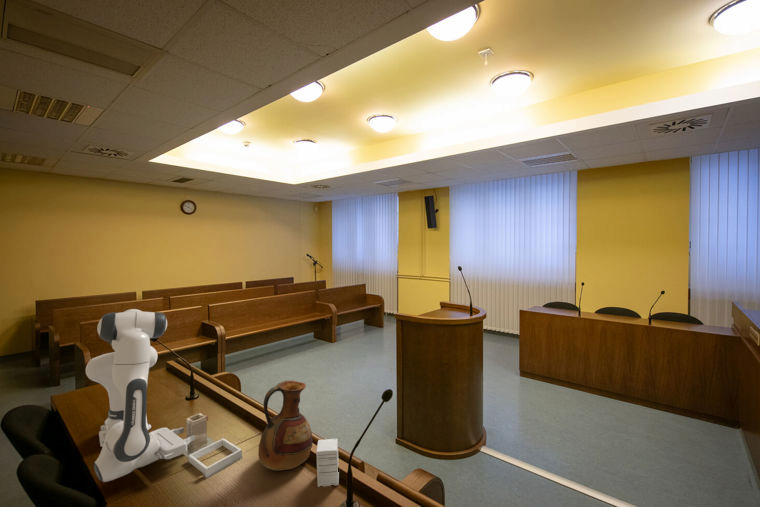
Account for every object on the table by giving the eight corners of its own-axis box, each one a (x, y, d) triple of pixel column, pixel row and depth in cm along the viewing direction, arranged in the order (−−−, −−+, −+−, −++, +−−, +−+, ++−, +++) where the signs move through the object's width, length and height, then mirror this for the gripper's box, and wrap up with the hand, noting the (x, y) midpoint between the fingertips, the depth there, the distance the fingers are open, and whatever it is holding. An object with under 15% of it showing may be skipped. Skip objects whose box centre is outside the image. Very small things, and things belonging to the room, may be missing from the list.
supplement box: (318, 473, 124) (317, 439, 123) (339, 471, 124) (338, 437, 124) (316, 487, 116) (315, 451, 116) (338, 485, 117) (337, 449, 117)
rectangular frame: (188, 464, 131) (188, 455, 131) (223, 446, 142) (223, 438, 142) (206, 478, 122) (206, 468, 122) (242, 458, 134) (241, 449, 134)
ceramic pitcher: (318, 467, 127) (316, 388, 126) (262, 485, 118) (259, 401, 117) (305, 440, 145) (303, 371, 144) (256, 454, 136) (253, 381, 135)
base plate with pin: (175, 450, 140) (174, 429, 140) (205, 436, 150) (204, 417, 149) (189, 461, 133) (188, 439, 133) (218, 445, 142) (218, 425, 142)
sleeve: (187, 446, 141) (186, 418, 140) (204, 438, 146) (203, 411, 146) (193, 451, 137) (192, 422, 137) (211, 442, 143) (210, 415, 143)
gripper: (161, 451, 121) (200, 433, 132) (140, 433, 133) (177, 418, 144) (162, 468, 121) (201, 449, 132) (140, 448, 134) (178, 432, 145)
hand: (188, 432), depth 138 cm, fingers open, 8 cm apart
